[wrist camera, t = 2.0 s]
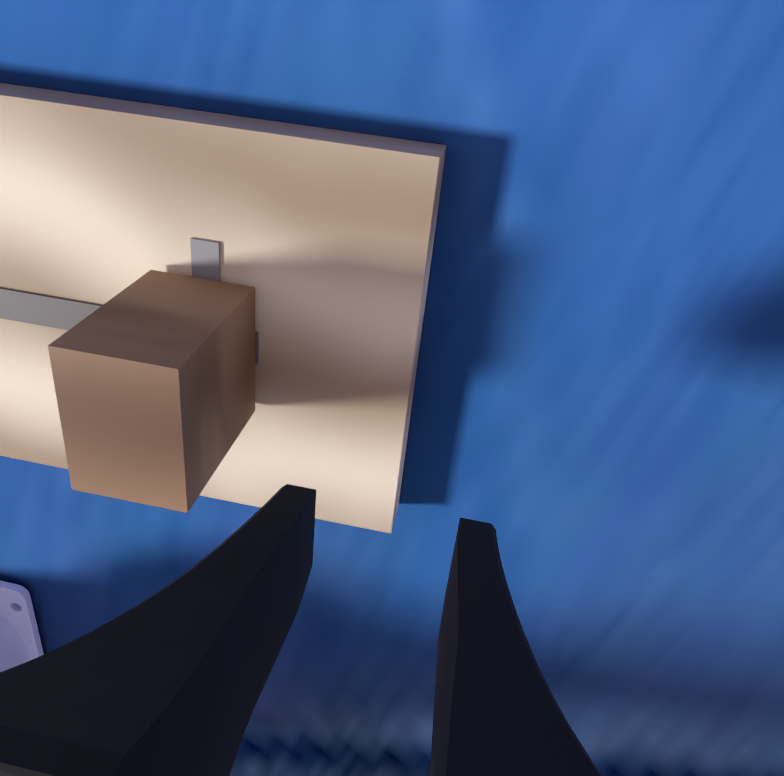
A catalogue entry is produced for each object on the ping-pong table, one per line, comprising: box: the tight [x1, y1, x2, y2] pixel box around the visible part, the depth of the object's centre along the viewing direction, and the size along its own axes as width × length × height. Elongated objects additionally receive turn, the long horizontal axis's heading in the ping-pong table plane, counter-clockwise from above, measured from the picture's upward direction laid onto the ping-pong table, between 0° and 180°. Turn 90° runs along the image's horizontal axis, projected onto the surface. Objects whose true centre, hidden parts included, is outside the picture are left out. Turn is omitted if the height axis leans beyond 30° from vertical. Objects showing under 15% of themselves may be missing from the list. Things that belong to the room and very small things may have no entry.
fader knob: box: [48, 270, 255, 513], centre depth 18 cm, size 4×3×5 cm
